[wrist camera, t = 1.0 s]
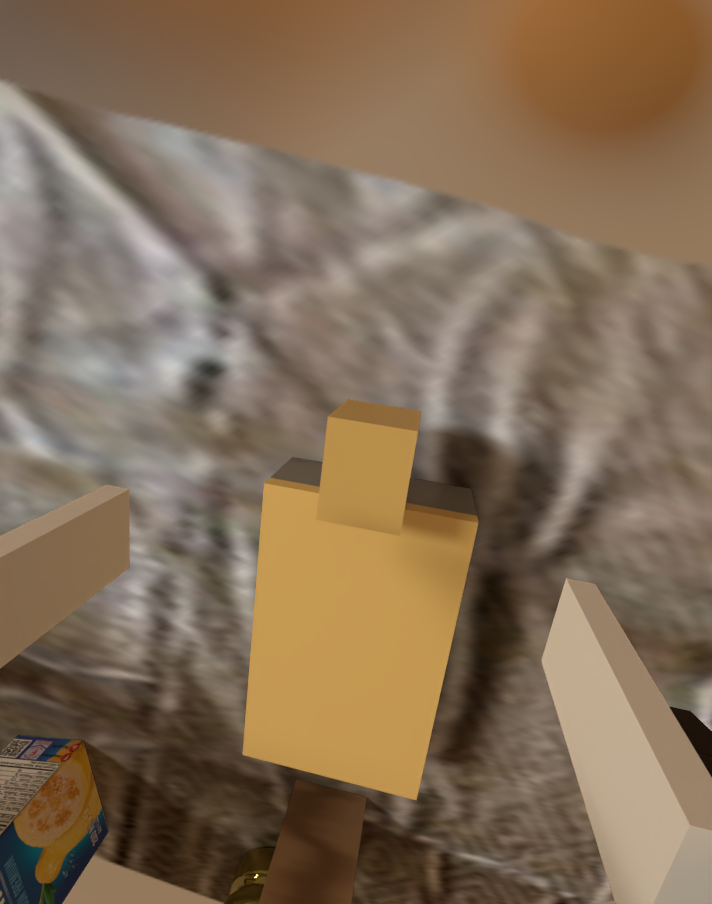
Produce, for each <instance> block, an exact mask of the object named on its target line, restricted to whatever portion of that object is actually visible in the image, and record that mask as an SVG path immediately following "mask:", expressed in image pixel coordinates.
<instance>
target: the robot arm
mask: <svg viewBox="0 0 712 904" xmlns="http://www.w3.org/2000/svg"><path fill="white" fill-rule="evenodd" d="M129 567H130V556H129V489H126V488H121V487H116V486H111V485H105V486H103V487H101V488H99V489H97V490H95V491H93V492H91V493H88V494H86V495H84V496H82V497H80V498H78V499H76V500H74V501H72V502H70V503H68V504H66V505H64V506H61V507H59V508H57V509H55V510H53V511H51V512H49V513H47V514H45V515H43V516H41V517H39V518H36V519H34V520H32V521H30V522H28V523H26V524H24V525H22V526H20V527H18V528H16V529H14V530H12V531H9V532H7V533H5V534H3V535H1V536H0V668H2V667H3V666H4V665H6V664H7V663H8V662H9V661H11V660H12V659H13V658H14V657H16V656H17V655H18V654H20V653H21V652H22V651H23V650H25V649H26V648H27V647H28V646H30V645H31V644H32V643H34V642H35V641H36V640H37V639H39V638H40V637H41V636H43V635H44V634H45V633H46V632H48V631H49V630H50V629H51V628H53V627H54V626H55V625H57V624H58V623H59V622H60V621H62V620H63V619H64V618H66V617H67V616H68V615H69V614H71V613H72V612H73V611H74V610H76V609H77V608H78V607H80V606H81V605H82V604H83V603H85V602H86V601H87V600H88V599H90V598H91V597H92V596H94V595H95V594H96V593H97V592H99V591H100V590H101V589H103V588H104V587H105V586H106V585H108V584H109V583H110V582H111V581H113V580H114V579H115V578H117V577H118V576H119V575H120V574H122V573H123V572H124V571H126V570H127V569H128V568H129ZM541 661H542V664H543V668H544V671H545V674H546V678H547V681H548V684H549V687H550V691H551V694H552V697H553V701H554V704H555V707H556V710H557V714H558V717H559V720H560V724H561V727H562V730H563V733H564V737H565V740H566V743H567V747H568V750H569V753H570V756H571V760H572V763H573V766H574V770H575V773H576V776H577V779H578V783H579V786H580V789H581V793H582V796H583V799H584V802H585V806H586V809H587V812H588V816H589V819H590V822H591V825H592V829H593V832H594V835H595V839H596V842H597V845H598V848H599V852H600V855H601V858H602V862H603V865H604V868H605V871H606V875H607V878H608V881H609V885H610V888H611V891H612V894H613V898H614V901H615V904H712V731H711V730H710V729H708V728H707V727H706V726H705V725H704V724H703V723H702V722H701V721H700V720H699V719H698V718H697V717H696V716H695V715H694V714H693V713H692V712H691V711H687V710H682V709H678V708H674V707H669V706H668V704H667V702H666V701H665V699H664V697H663V696H662V694H661V692H660V691H659V689H658V687H657V686H656V684H655V683H654V681H653V679H652V678H651V676H650V674H649V673H648V671H647V669H646V668H645V666H644V664H643V663H642V661H641V659H640V658H639V656H638V654H637V653H636V651H635V649H634V648H633V646H632V644H631V643H630V641H629V639H628V638H627V636H626V634H625V633H624V631H623V629H622V628H621V626H620V624H619V623H618V621H617V619H616V618H615V616H614V614H613V613H612V611H611V609H610V608H609V606H608V604H607V603H606V601H605V599H604V598H603V596H602V595H601V593H600V591H599V590H598V588H597V586H596V585H595V584H593V583H588V582H583V581H578V580H573V579H568V578H566V580H565V584H564V587H563V590H562V594H561V597H560V600H559V604H558V607H557V610H556V614H555V617H554V620H553V624H552V627H551V630H550V634H549V637H548V640H547V644H546V647H545V650H544V653H543V657H542V660H541Z"/></svg>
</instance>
